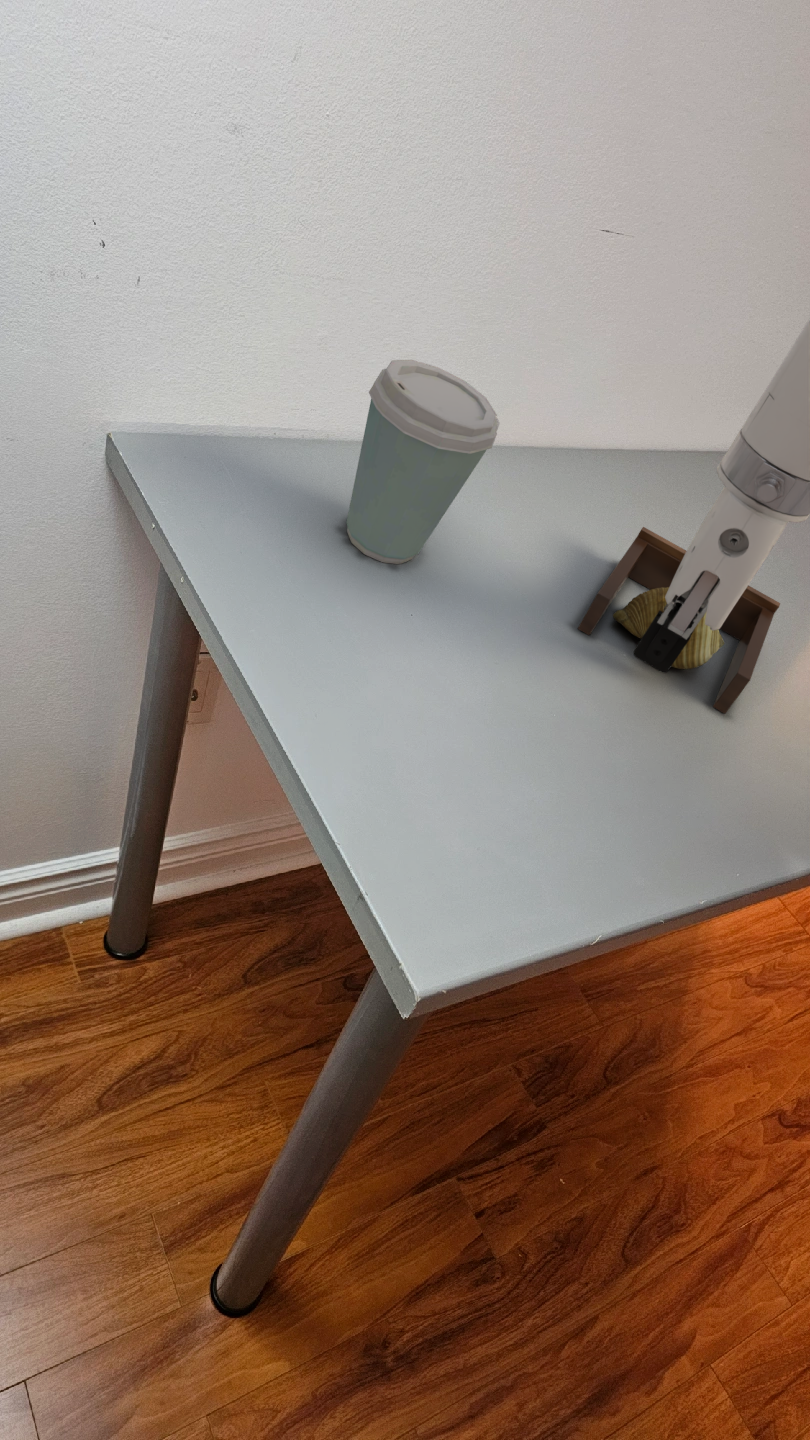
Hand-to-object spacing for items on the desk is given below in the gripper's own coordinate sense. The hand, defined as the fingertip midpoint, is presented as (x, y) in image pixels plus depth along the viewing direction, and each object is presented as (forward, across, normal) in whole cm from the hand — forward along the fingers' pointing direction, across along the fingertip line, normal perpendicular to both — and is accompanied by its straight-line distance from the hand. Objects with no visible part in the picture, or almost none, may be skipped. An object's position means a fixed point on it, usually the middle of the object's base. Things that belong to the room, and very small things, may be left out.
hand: (651, 659), depth 88 cm
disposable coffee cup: (+2, -2, +24) cm, 25 cm away
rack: (+2, +9, -1) cm, 9 cm away
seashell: (+2, +6, 0) cm, 6 cm away
